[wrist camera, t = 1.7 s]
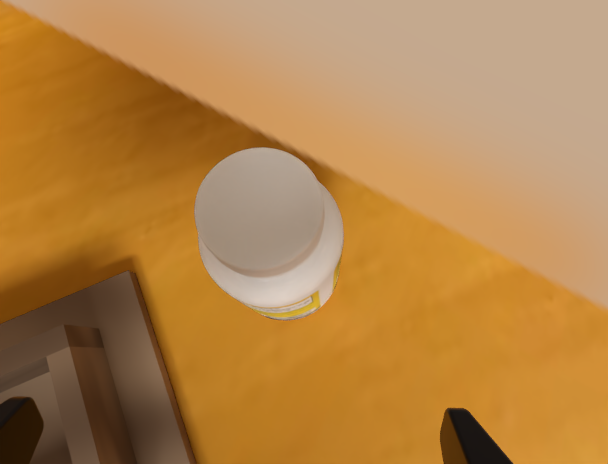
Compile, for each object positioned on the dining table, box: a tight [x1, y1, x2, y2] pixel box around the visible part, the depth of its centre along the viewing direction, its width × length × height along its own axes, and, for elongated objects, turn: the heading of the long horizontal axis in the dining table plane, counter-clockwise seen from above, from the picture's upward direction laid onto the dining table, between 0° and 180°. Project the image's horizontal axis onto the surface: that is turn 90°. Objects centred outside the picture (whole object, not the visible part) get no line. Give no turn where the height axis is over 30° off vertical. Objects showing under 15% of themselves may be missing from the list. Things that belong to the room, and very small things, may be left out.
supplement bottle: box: [194, 147, 344, 320], centre depth 18 cm, size 5×5×10 cm
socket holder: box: [0, 270, 196, 464], centre depth 18 cm, size 13×13×4 cm
